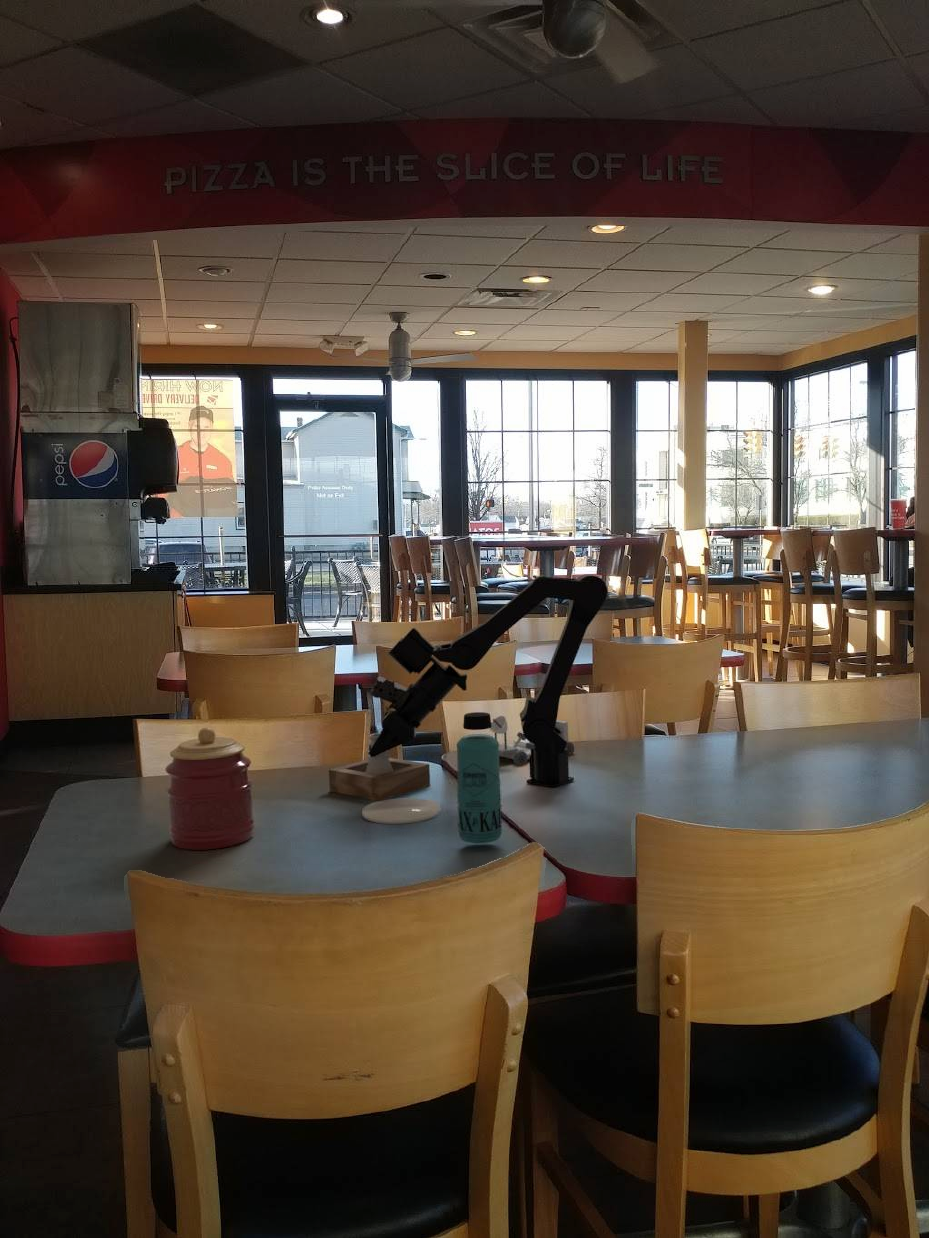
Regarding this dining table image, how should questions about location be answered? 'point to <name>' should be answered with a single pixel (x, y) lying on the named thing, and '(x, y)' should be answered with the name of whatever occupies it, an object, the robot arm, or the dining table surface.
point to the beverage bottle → (478, 782)
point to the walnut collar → (379, 779)
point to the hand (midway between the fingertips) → (370, 753)
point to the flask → (378, 760)
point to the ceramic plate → (401, 811)
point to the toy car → (523, 741)
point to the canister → (209, 793)
